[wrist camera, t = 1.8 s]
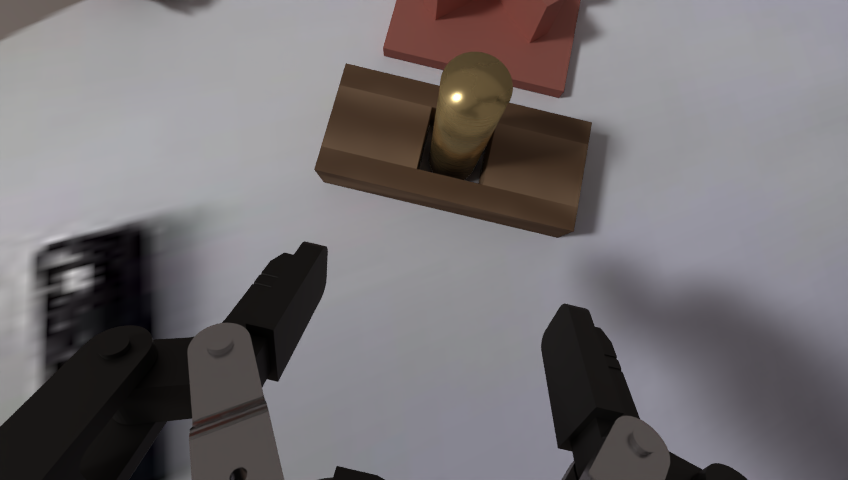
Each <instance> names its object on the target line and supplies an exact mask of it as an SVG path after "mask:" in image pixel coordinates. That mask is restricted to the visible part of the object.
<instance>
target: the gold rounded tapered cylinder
mask: <svg viewBox="0 0 848 480" xmlns="http://www.w3.org/2000/svg"><path fill="white" fill-rule="evenodd" d="M512 92H513V82H512V78H511V75H510V73H509V71H508V69H507V68H506V66H505V65H504V64H503V63H502V62H501V61H500V60H498V59H497V58H496V57H494V56H492V55H489V54H487V53H483V52H467V53H463V54H461V55H458V56H456V57H455V58H453V59H452V60H451V61H450V62H449V63H448V64H447V65H446V67H445V68H444V70H443V73H442V76H441V81H440V88H439V94H438V101H437V108H436V114H435V121H434V128H433V135H432V141H431V148H430V155H429V164H430V168H431V170H432V171H433V173H436V174H440V175H444V176H448V177H453V178H457V179H461V180H465V179H466V178H468V177H469V176H470V175H471V173H472V172H473V170H474V168H475V166H476V164H477V162H478V161H479V159H480V157H481V155H482V153H483V151H484V149H485V147H486V145H487V143H488V141H489V139H490V137H491V136H492V134H493V132H494V130H495V128H496V126H497V124H498V122H499V120H500V118H501V116H502V114H503V112H504V111H505V109H506V107H507V105H508V103H509V101H510V99H511V96H512Z"/></svg>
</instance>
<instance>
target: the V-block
mask: <svg viewBox="0 0 848 480" xmlns="http://www.w3.org/2000/svg"><path fill="white" fill-rule="evenodd" d="M579 6H580V0H397V1H396V4H395V8H394V11H393V15H392V18H391V22H390V26H389V29H388V33H387V36H386V40H385V43H384V47H383V51H384V56H387V57H391V58H396V59H400V60H404V61H408V62H412V63H416V64H421V65H425V66H429V67H433V68H437V69H441V70H444V68H445V67H446V65H447V64H448V63H449V62H450V61H451V60H452V59H453V58H455V57H456V56H458V55H461V54H463V53H467V52H483V53H487V54H489V55H492V56H494V57H496V58H497V59H498V60H500V61H501V62H502V63H503V64H504V65H505V66H506V68H507V69H508V71H509V73H510V75H511V78H512V82H513V87H516V88H520V89H524V90H529V91H533V92H537V93H541V94H545V95H549V96H553V97H558V98H559V97H560V96H561V94H562V93H563V92H564V87H565V82H566V77H567V71H568V66H569V60H570V55H571V49H572V44H573V38H574V33H575V28H576V22H577V17H578V11H579Z"/></svg>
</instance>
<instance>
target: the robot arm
mask: <svg viewBox="0 0 848 480" xmlns="http://www.w3.org/2000/svg"><path fill="white" fill-rule="evenodd" d="M327 255H328V249H327V247H326V246H322V245H318V244H314V243H309V242H303V243H302V244H301V245H300V247H299V248H298V250H297V251H296V252H295V254H294V255H292V254H288V253H283V254H281V255H280V256H278V257H276V258H275V259H273V260H271V261H270V262H269V264H268V265H267V266H266V267H265V269H264V270H263V271H262V273H261V275H259V276H258V278H257V279H256V280H255V282H254V284H252V285H251V287H250V288H249V289H248V291H247V292H246V293H245V295H244V296H243V297H242V298H241V300H240V301H239V302H238V304H237V305H236V306H235V307H234V309H233V310H232V311H231V313H230V314H229V315H228V316H227V318H226V319H225V320H224V321H223V322H222V323H220V324H216V325H212V326H210V327H207V328H206V329H204V330H202V331H201V332H199V333H198V334H197V335H196V336H195V337H190V338H175V339H155V340H153V339H152V336H151V334H150V333H149V331H147V330H146V329H144V328H142V327H139V326H120V327H116V328H112V329H109V330H106V331H104V332H102V333H100V334H98V335H96V336H95V337H93V338H92V339H90V340H89V341H88V342H87V343H86V344H85V345H83V346H82V347H81V348H80V349H79V350H78V351H77V352H76V353H75V354H74V355H73V356H72V357H71V358H70V359H69V360H68V361H67V362H66V363H65V364H64V365H63V366H62V367H61V368H60V369H59V370H58V371H57V372H56V373H55V374H54V375H53V376H52V377H51V378H50V379H49V380H48V381H47V382H46V383H45V384H44V385H42V386H41V387H40V388H39V389H38V390H37V391H36V392H35V393H34V394H33V395H32V396H31V397H30V398H29V399H28V400H27V401H26V402H25V403H24V404H23V405H22V406H21V407H20V408H19V409H18V410H17V411H16V412H15V413H14V414H13V415H12V416H11V417H10V418H9V419H8V420H7V421H6V422H5V423H4V424H3V425H1V426H0V480H129V479H130V477H131V476H132V474H133V473H134V471H135V470H136V468H137V466H138V465H139V463H140V462H141V460H142V459H143V457H144V456H145V454H146V453H147V451H148V450H149V448H150V447H151V445H152V444H153V442H154V441H155V439H156V438H157V436H158V435H159V433H160V431H161V430H162V428H163V427H164V425H165V424H166V422H167V421H173V420H182V419H191V418H192V422H193V425H192V428H191V429H190V433H189V444H190V460H191V475H192V480H284V477H283V472H282V468H281V464H280V459H279V455H278V451H277V446H276V442H275V437H274V433H273V429H272V424H271V420H270V415H269V411H268V407H267V403H266V401H265V399H264V395H263V390H262V387H263V385H264V383H265V381H266V380H267V379H269V380H273V381H277V382H278V381H279V379H280V377H281V375H282V373H283V371H284V369H285V367H286V365H287V364H288V362H289V360H290V358H291V356H292V354H293V352H294V350H295V348H296V346H297V344H298V342H299V340H300V338H301V336H302V335H303V333H304V331H305V329H306V327H307V325H308V323H309V321H310V319H311V317H312V315H313V313H314V311H315V309H316V307H317V305H318V304H319V302H320V300H321V298H322V295H323V293H324V290H325V286H326V278H327ZM541 350H542V357H543V362H544V368H545V374H546V380H547V386H548V392H549V398H550V404H551V410H552V416H553V422H554V427H555V433H556V439H557V445H558V448H559V449H564V450H568V451H572V452H573V457H574V461H573V462H572V463H571V465H570V466H569V468H568V469H567V471H566V473H565V474H564V476H563V478H562V480H747V479H746V478H745V477H744V476H743V475H742V474H740V473H739V472H737V471H736V470H734V469H733V468H731V467H729V466H726V465H723V464H719V463H714V464H711V465H709V466H708V467H706V468H704V469H703V470H702V469H700V468H699V467H697V466H695V465H693V464H691V463H689V462H687V461H686V460H684V459H682V458H680V457H678V456H676V455H675V454H673V453H671V452H669V451H668V449H667V446H666V445H665V443H664V441H663V440H662V438H661V437H660V436H659V434H658V433H657V432H656V431H655V430H654V429H653V428H652V427H651V426H649V425H648V424H647V423H645V422H644V421H642V420H640V418H639V415H638V412H637V410H636V407H635V404H634V402H633V399H632V396H631V394H630V391H629V388H628V386H627V383H626V380H625V377H624V375H623V372H621V367H620V364H619V361H618V360H617V359H616V358H617V356H616V353H615V351H614V348H613V345H612V342H611V341H610V340H609V339H608V337H607V336H606V335H605V333H604V332H603V331H602V329H601V328H598V327H595V326H594V323H593V320H592V317H591V314H590V312H589V310H588V309H585V308H581V307H577V306H573V305H568V304H562V305H561V306H560V308H559V309H558V311H557V313H556V314H555V316H554V317H553V319H552V321H551V322H550V324H549V326H548V327H547V329H546V330H545V332H544V335H543V338H542V343H541ZM319 480H384V479H383V478H381V477H379V476H377V475H373V474H369V473H365V472H360V471H356V470H352V469H347V468H343V467H339V466H337V467H336V470H335V473H334V477H333V478H324V479H319Z"/></svg>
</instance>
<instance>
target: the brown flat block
mask: <svg viewBox="0 0 848 480" xmlns="http://www.w3.org/2000/svg"><path fill="white" fill-rule="evenodd" d="M439 88H440V86H438V85H434V84H429V83H425V82H421V81H417V80H413V79H409V78H404V77H400V76H396V75H392V74H388V73H384V72H380V71H375V70H371V69H367V68H363V67H359V66H355V65H350V64H346V65H345V68H344V71H343V75H342V78H341V82H340V85H339V88H338V92H337V95H336V98H335V102H334V105H333V109H332V112H331V115H330V119H329V122H328V125H327V129H326V132H325V136H324V139H323V142H322V146H321V149H320V152H319V156H318V159H317V162H316V166H315V169H314V170H315V171H316V172H317V174H318V175H319V176H320V178H321V179H322V180H323V182H325V183H330V184H334V185H338V186H342V187H346V188H351V189H355V190H359V191H363V192H367V193H372V194H376V195H380V196H384V197H389V198H393V199H397V200H401V201H405V202H410V203H414V204H418V205H422V206H426V207H431V208H435V209H439V210H443V211H447V212H452V213H456V214H460V215H464V216H468V217H473V218H477V219H481V220H485V221H489V222H494V223H498V224H502V225H506V226H510V227H515V228H519V229H523V230H527V231H531V232H536V233H540V234H544V235H548V236H552V237H557V238H558V237H560V236H563V235H565V234H568V233H571V232H573V231H574V227H575V221H576V215H577V209H578V203H579V197H580V191H581V185H582V179H583V173H584V167H585V161H586V155H587V149H588V143H589V137H590V131H591V125H592V122H588V121H583V120H579V119H575V118H571V117H567V116H563V115H558V114H554V113H550V112H546V111H542V110H538V109H533V108H529V107H525V106H521V105H517V104H513V103H508V105H507V107H506V109H505V111H504V112H503V114H502V116H501V118H500V120H499V122H498V124H497V126H496V128H495V130H494V132H493V134H492V136H491V137H490V139H489V141H488V143H487V146H486V151H485V155H484V160H483V165H482V169H481V174H480V179H479V183H474V182H469V181H465V180H461V179H457V178H453V177H448V176H444V175H440V174H436V173H432V172H427V171H423V170H419V166H420V162H421V158H422V154H423V150H424V146H425V142H426V138H427V134H428V130H429V125H431V126H434V121H435V114H436V108H437V101H438V94H439Z"/></svg>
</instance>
